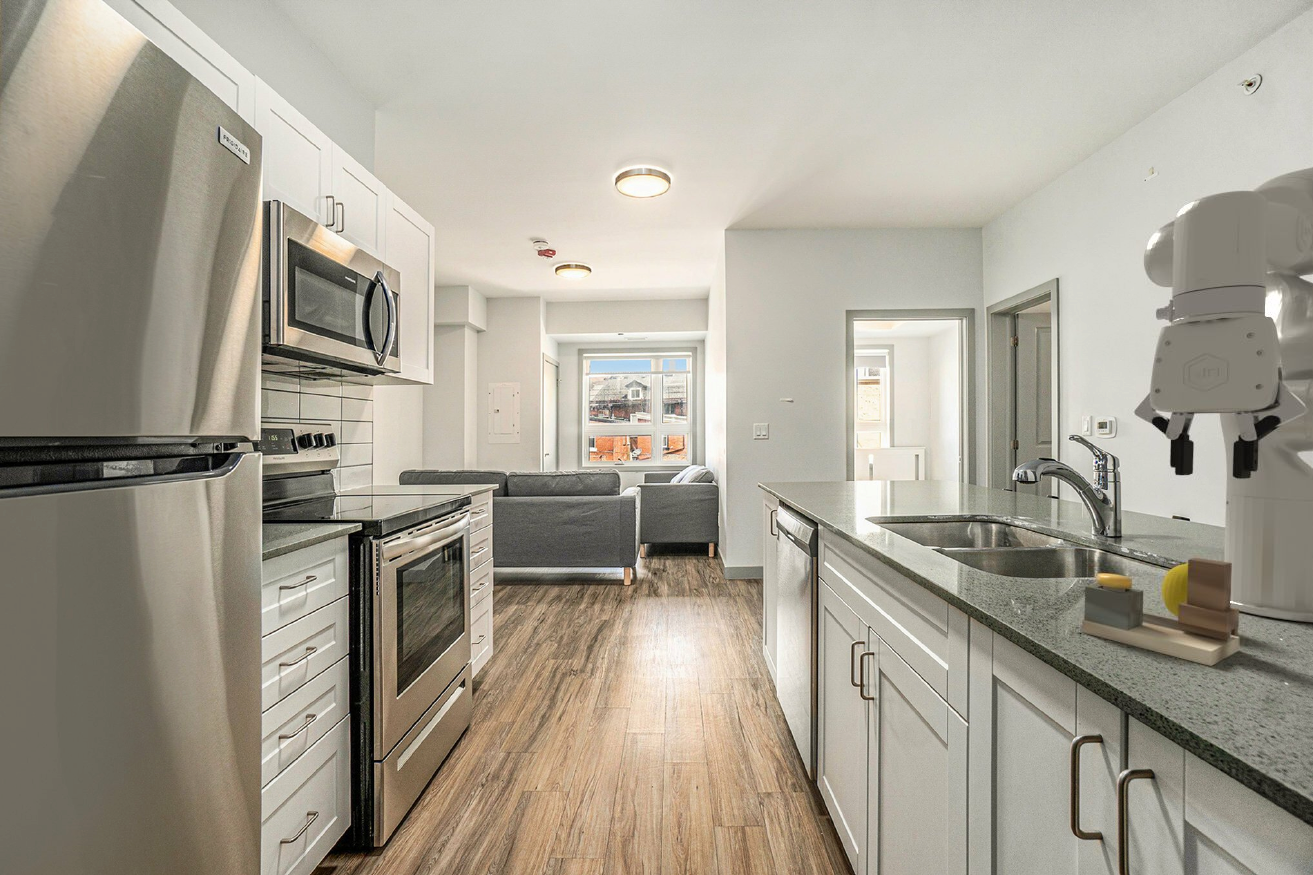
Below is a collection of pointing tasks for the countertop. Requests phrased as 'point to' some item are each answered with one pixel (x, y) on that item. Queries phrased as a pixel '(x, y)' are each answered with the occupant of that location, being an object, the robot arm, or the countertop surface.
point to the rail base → (1148, 627)
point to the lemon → (1175, 587)
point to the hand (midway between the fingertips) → (1212, 474)
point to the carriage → (1209, 600)
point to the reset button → (1114, 582)
